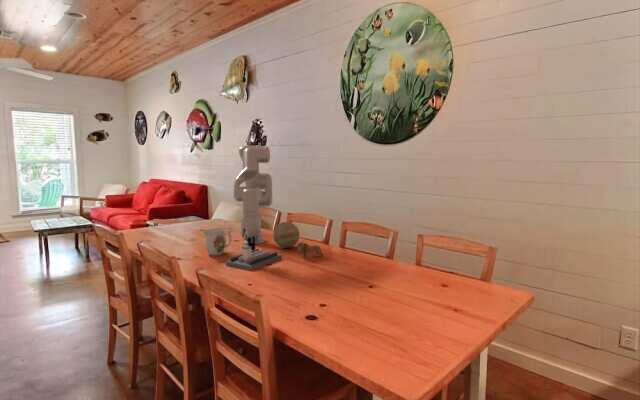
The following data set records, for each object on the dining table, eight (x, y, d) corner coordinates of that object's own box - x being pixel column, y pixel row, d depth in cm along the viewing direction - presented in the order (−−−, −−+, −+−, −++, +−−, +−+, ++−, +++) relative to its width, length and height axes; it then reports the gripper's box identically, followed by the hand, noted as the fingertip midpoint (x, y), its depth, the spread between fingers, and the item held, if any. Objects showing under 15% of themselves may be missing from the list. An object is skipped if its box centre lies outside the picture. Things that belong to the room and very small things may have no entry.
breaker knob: (246, 258, 190) (246, 245, 190) (251, 259, 189) (251, 246, 188) (242, 260, 188) (242, 246, 187) (247, 261, 186) (247, 247, 185)
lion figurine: (298, 260, 196) (298, 243, 195) (295, 257, 201) (295, 241, 199) (325, 257, 201) (325, 241, 200) (321, 255, 206) (321, 239, 205)
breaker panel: (257, 254, 208) (257, 247, 207) (281, 258, 199) (281, 250, 199) (226, 265, 187) (225, 257, 187) (251, 270, 179) (250, 262, 178)
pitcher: (237, 252, 212) (236, 227, 210) (207, 258, 199) (206, 232, 197) (226, 248, 219) (225, 225, 218) (197, 254, 206) (196, 229, 205)
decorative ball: (287, 252, 212) (287, 225, 210) (268, 248, 221) (267, 222, 219) (304, 246, 224) (304, 221, 222) (285, 243, 233) (285, 219, 231)
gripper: (254, 210, 196) (255, 245, 199) (234, 215, 184) (235, 252, 186) (266, 212, 193) (266, 247, 195) (246, 216, 180) (247, 254, 182)
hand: (251, 249), depth 191 cm, fingers closed
